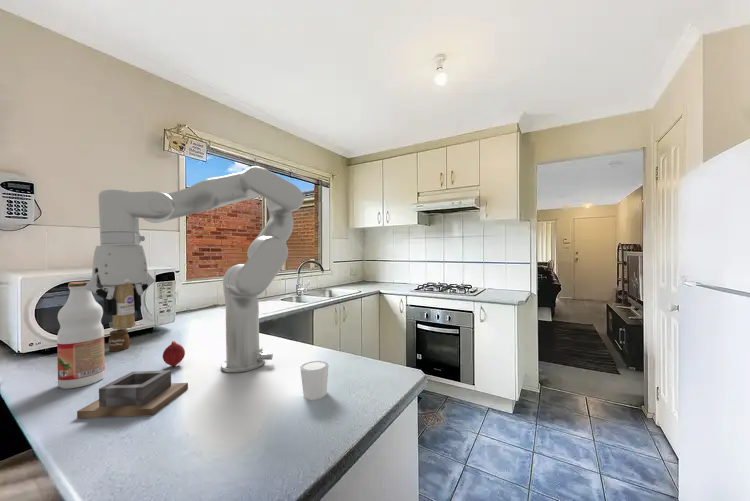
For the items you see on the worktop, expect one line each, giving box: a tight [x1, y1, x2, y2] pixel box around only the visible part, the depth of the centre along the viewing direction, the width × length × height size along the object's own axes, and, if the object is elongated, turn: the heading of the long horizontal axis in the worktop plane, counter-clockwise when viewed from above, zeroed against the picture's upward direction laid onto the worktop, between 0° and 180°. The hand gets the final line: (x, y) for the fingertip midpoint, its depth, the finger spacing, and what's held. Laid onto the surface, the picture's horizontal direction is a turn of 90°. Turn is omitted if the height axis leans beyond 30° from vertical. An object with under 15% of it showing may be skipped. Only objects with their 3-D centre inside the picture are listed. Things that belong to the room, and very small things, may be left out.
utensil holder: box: [108, 319, 130, 352], centre depth 114 cm, size 6×6×12 cm
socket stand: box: [76, 369, 189, 419], centre depth 72 cm, size 16×13×6 cm
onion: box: [162, 340, 186, 367], centre depth 94 cm, size 6×6×8 cm
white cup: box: [300, 360, 330, 401], centre depth 74 cm, size 7×7×7 cm
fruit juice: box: [56, 280, 106, 390], centre depth 84 cm, size 9×9×28 cm
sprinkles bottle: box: [111, 279, 136, 330], centre depth 75 cm, size 5×5×13 cm
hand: (123, 312), depth 75 cm, fingers closed on sprinkles bottle, 4 cm apart
